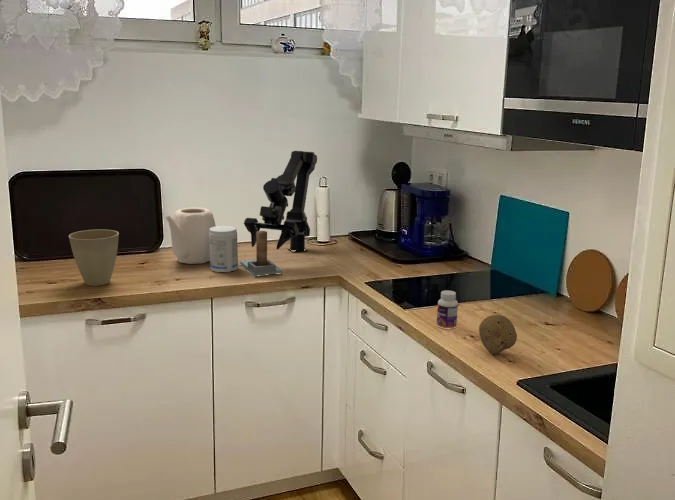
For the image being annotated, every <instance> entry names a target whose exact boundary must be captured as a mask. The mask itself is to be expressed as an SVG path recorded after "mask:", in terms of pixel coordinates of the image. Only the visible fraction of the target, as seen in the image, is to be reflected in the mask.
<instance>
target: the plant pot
mask: <svg viewBox="0 0 675 500" xmlns="http://www.w3.org/2000/svg"><path fill="white" fill-rule="evenodd" d="M119 235H120V233H119V231H117V230H112V229H88V230H87V229H86V230H80V231H76V232H75V231H74V232H72V233H70V234H69V235H68V240H69V244H70V247H71V252H72V255H73V259H74V261H75V263H76V266H77V268H78V269H77V270H78V271H79V273H80V275H81V278H82V280H83V282H84V284H85V285H87V286H92V287H93V286H94V287H96V286H97V287H98V286H104V285H105V286H106V285H107V284H110V282H111V279H112V275H113V273H114V269H115V265H116V260H117V255H118V248H119Z"/></svg>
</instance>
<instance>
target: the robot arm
mask: <svg viewBox="0 0 675 500" xmlns="http://www.w3.org/2000/svg"><path fill="white" fill-rule="evenodd" d="M317 162H318V156H317V154H315V152H314V151H303V150H293V151H291V153H290V159H289V161H288V163H287V164H286V166H285V169H284V171H283V172H282V174H280V175H278V176H276V177H271V179H270V180H268V181H266V182H265V183H264V184H263V186H262V188H263V191H264V194H265V196H266V197H267V200H268V201H269V202H270V203H269V206H263V205H262V206H260V211H259V216H260V217H261V219H262V221H263V222H259V221H258V219H257V217H256V218H255V217H246V218H245V219H244V221H243V225H244V227H245V229H246V230H247V232H249V233H250V240H251V241H250V242H251V243H250V244H251V248H254V247H255V245H256V232H257V231H261V229H264V230H265V229H266V230H273V231H274V230H275V231H280V232H281V233H280V236H279V239H278V241H277V244H276V250H279V249H281V247H283V246H284V245H285V243H287V242H288V241H289V244H290V245H289V247H290V249H291V250H296V251H303V252H305V251H304V249H305V248H306V237H310V234H311V228H310V226H309V224H308V223H309V222H308V217H307V215H306V212H305V207H306V200H307V193H308V186H309V182H310V181H309V180H310V175H311V174H312V173H313V171H314V170H315V168H316V164H317ZM293 195H294V196H293ZM292 196H293V202H292V207H291V209H290V210H288V211H287V212H285V211H286V209H287V208H288V207H289V200H288V198H287V197H292ZM285 213H286V216H285ZM282 222H283V224H282Z"/></svg>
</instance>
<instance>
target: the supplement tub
mask: <svg viewBox="0 0 675 500" xmlns="http://www.w3.org/2000/svg"><path fill="white" fill-rule="evenodd" d="M209 245H210V261H209V264H210V265H209V267H210V270H211V271H213V272H214V271H215V273H219V272H227V273H232V272H231V271H233V272H235V271H237V270H238V268H239V259H238V258H239V256H238V255H239V254H238V253H239V251H238V250H239V249H238V231H237V227H235V226H232V225H216V226H215V227H212V228H210V229H209Z"/></svg>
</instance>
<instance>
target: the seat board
mask: <svg viewBox="0 0 675 500" xmlns="http://www.w3.org/2000/svg"><path fill="white" fill-rule="evenodd" d="M239 261H240V262H239V265H240V264H241V265H242V266H243V267H244V268H245V269H247V270H248V271H249V272H250V273H251V274H252V275H253V276H257V275H265V274H276V273H282V274H283V270H282V269H281V268H280V267H278V266H277V265H276V264H275V263H274V262H272V261H271V260H270V259H268V258H267V265H266V266H257V259H248V260H247V259H246V260H239ZM241 265H240V266H241ZM242 266H241V267H242ZM243 267H242V268H243ZM244 268H243V269H244ZM245 269H244V270H245ZM247 270H246V271H247ZM248 271H247V272H248ZM249 272H248V273H249ZM250 273H249V274H250ZM251 274H250V275H251ZM252 275H251V276H252ZM253 276H252V277H253ZM257 277H258V276H257Z"/></svg>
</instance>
